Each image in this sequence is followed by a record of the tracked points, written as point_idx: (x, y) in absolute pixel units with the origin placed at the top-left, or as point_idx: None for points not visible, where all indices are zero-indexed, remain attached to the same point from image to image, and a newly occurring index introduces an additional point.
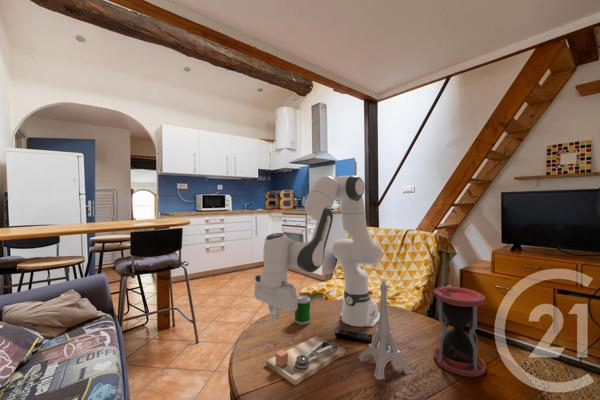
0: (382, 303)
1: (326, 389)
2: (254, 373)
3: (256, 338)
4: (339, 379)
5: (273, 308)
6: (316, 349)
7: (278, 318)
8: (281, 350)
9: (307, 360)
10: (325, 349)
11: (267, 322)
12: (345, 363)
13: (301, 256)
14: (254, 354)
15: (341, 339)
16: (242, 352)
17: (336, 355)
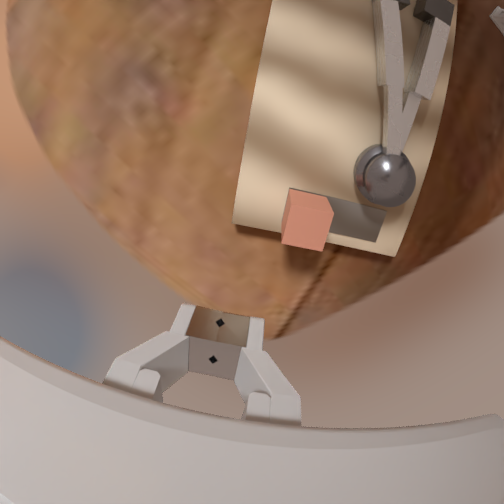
0: None
1: (470, 216)
2: (235, 270)
3: (65, 104)
4: (489, 155)
5: (160, 362)
6: (401, 65)
7: (263, 321)
8: (292, 210)
9: (414, 178)
10: (439, 60)
11: (26, 7)
12: (477, 60)
13: None
14: (143, 188)
15: None
16: (104, 206)
17: (452, 41)
